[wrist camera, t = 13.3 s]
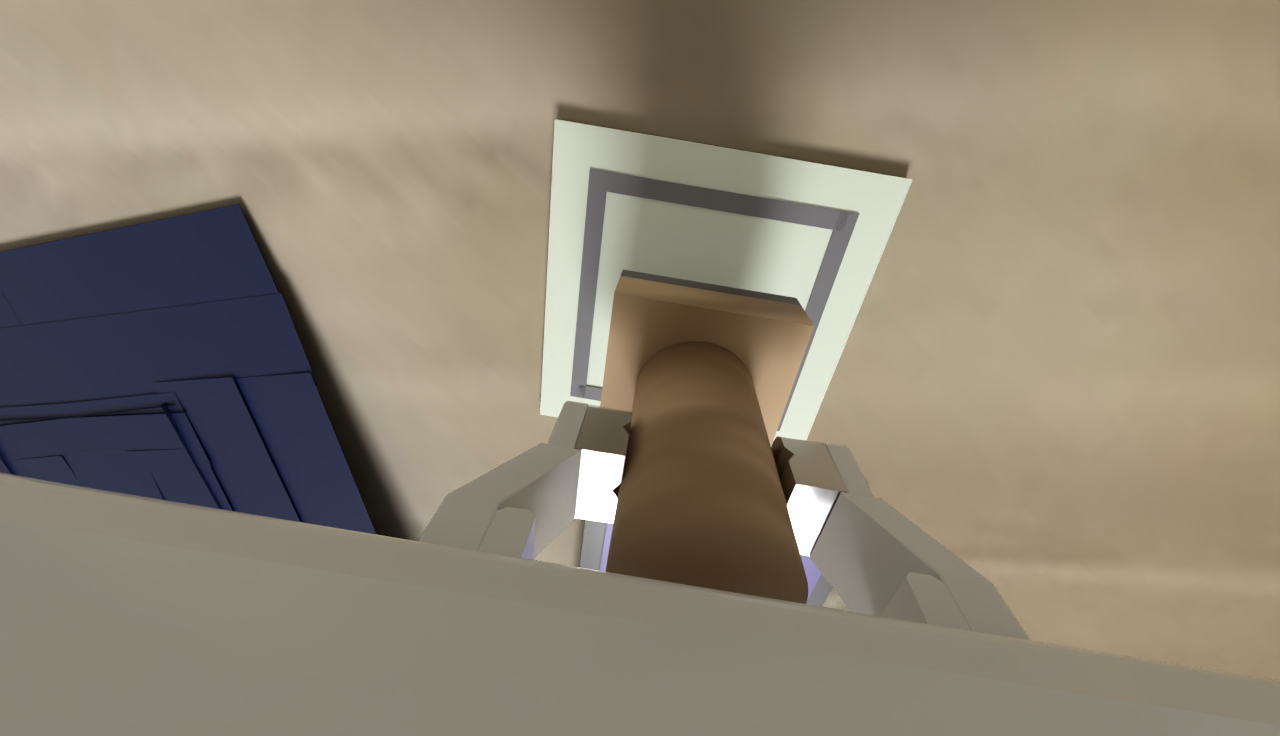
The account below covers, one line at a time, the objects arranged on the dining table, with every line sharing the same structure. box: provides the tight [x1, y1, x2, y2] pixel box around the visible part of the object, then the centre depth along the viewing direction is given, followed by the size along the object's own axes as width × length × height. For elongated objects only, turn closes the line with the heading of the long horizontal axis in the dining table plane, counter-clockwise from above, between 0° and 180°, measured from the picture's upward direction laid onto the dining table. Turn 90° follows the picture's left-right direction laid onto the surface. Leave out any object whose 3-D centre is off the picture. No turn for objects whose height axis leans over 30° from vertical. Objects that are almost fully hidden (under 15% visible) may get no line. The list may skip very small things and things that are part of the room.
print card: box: [540, 119, 912, 441], centre depth 17 cm, size 11×11×1 cm
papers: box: [0, 204, 376, 534], centre depth 24 cm, size 24×30×4 cm
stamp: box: [600, 270, 814, 604], centre depth 11 cm, size 5×5×8 cm
